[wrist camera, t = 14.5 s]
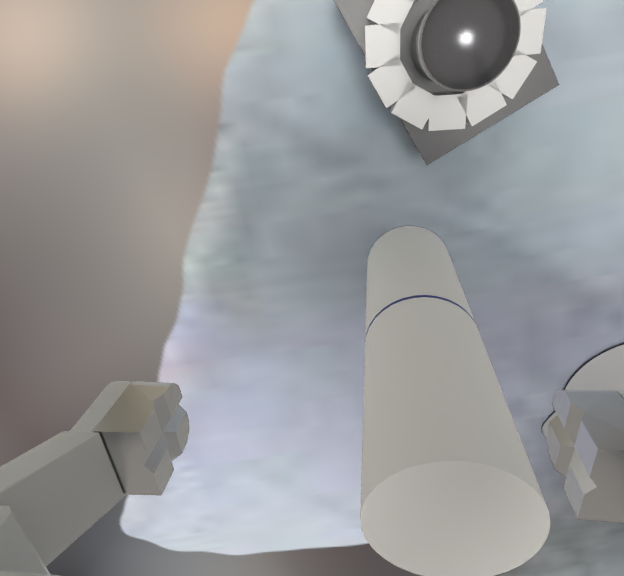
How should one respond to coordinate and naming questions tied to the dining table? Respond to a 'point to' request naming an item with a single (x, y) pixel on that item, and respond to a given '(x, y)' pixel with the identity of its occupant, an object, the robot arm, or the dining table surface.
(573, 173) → the dining table surface
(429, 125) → the camera body
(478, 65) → the lens
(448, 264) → the cylindrical container
